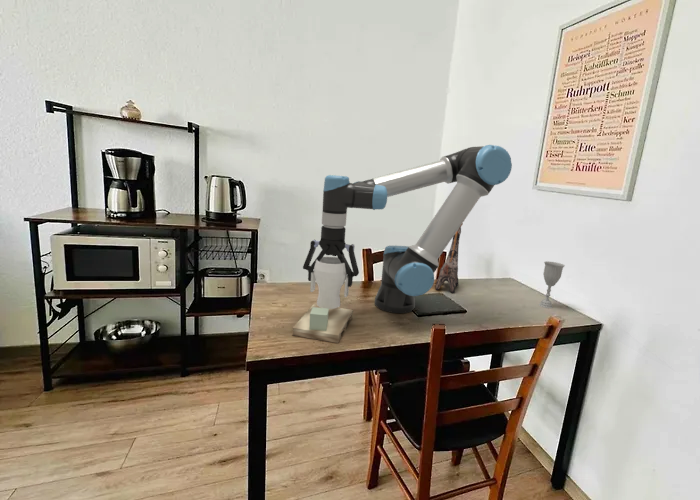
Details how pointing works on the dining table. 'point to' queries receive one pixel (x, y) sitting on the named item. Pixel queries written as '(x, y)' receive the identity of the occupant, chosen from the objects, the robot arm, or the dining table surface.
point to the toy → (450, 265)
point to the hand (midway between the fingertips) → (329, 293)
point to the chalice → (551, 279)
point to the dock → (334, 328)
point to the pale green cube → (319, 319)
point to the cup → (329, 281)
